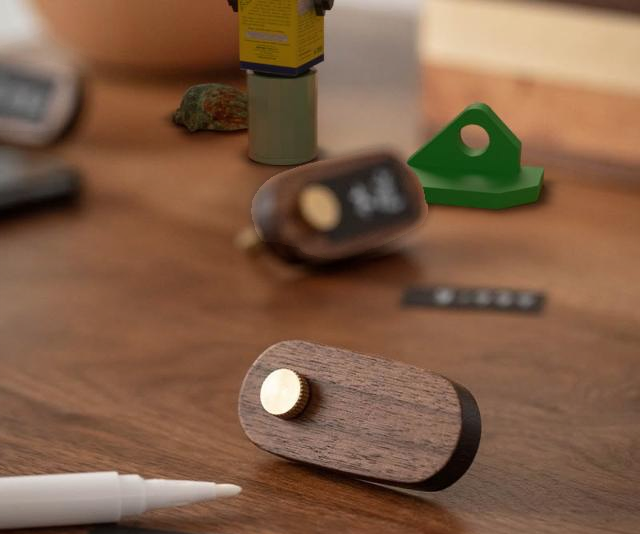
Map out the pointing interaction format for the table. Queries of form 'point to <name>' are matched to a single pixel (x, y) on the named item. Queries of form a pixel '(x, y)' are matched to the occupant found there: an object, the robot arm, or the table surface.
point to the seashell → (212, 108)
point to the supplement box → (280, 36)
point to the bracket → (476, 165)
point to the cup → (282, 117)
